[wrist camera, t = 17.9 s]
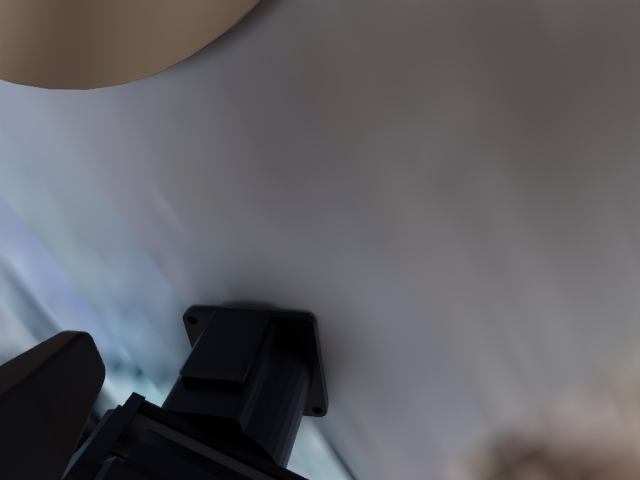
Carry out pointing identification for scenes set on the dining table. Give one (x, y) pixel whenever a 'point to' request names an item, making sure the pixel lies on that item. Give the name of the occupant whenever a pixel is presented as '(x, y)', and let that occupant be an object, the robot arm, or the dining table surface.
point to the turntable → (106, 38)
